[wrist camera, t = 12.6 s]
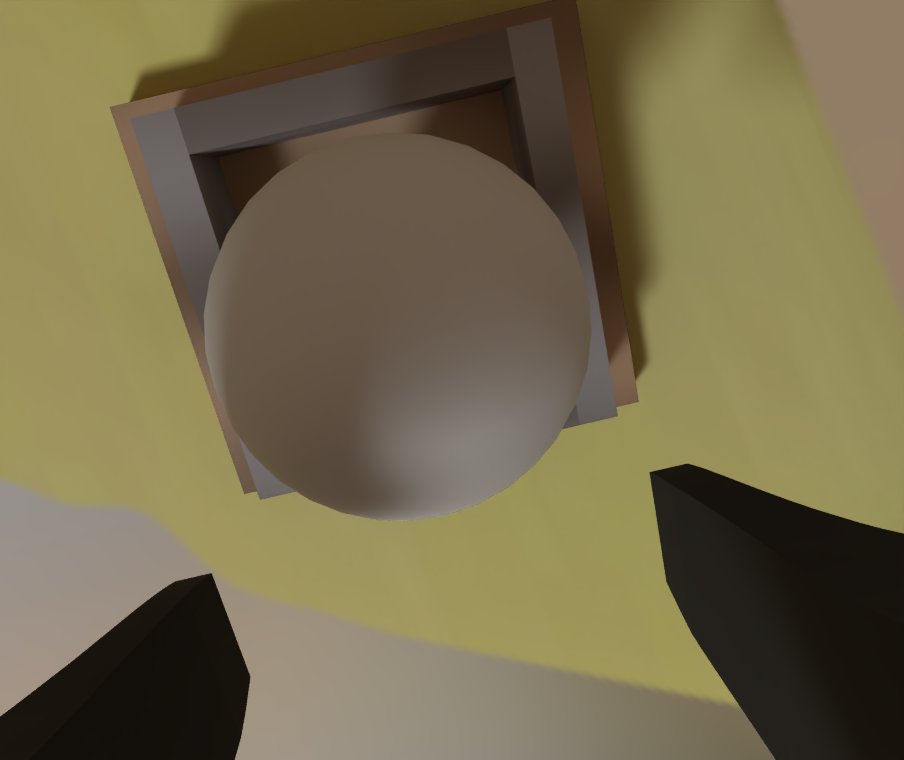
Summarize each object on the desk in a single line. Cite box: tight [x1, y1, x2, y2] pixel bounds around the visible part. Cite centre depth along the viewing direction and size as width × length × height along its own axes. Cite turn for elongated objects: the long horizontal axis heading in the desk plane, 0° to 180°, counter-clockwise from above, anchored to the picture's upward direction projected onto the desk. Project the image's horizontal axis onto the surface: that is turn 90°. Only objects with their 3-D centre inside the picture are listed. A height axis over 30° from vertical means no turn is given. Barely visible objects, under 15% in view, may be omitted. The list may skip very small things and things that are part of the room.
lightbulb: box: [204, 132, 592, 521], centre depth 14 cm, size 6×6×11 cm
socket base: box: [110, 0, 639, 500], centre depth 18 cm, size 11×12×4 cm
